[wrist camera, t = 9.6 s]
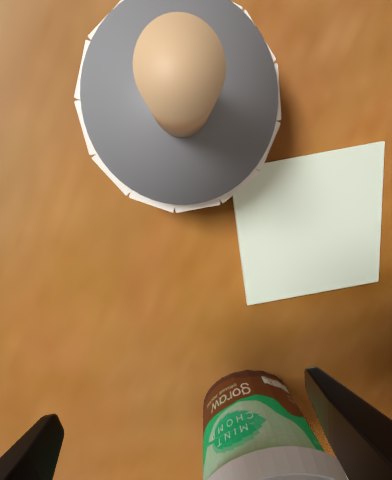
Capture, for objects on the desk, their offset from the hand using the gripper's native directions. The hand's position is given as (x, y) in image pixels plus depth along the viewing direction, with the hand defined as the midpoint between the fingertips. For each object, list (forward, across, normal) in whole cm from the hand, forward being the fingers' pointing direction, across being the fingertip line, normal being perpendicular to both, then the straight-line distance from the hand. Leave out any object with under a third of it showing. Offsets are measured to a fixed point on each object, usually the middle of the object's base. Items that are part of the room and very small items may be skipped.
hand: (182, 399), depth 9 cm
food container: (+13, -2, +15) cm, 20 cm away
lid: (+10, -2, -11) cm, 15 cm away
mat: (+13, -11, -1) cm, 17 cm away
